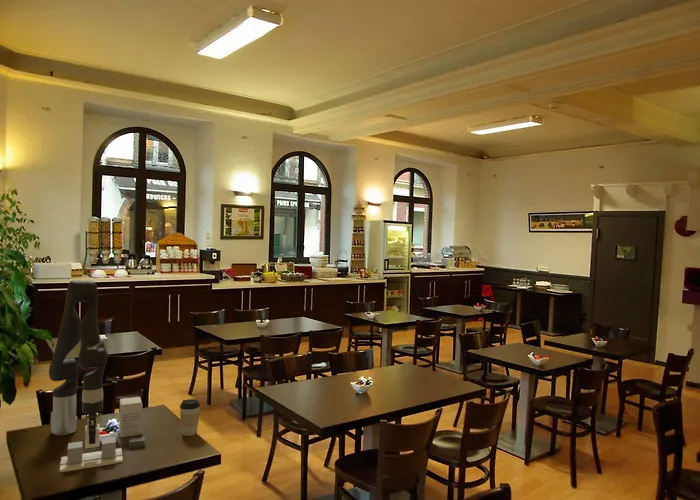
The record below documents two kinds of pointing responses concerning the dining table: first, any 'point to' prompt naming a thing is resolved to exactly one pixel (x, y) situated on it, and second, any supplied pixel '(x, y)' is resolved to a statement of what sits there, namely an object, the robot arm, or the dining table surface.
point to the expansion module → (95, 437)
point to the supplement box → (130, 416)
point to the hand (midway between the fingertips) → (92, 440)
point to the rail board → (91, 456)
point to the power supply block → (137, 442)
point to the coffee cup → (189, 416)
